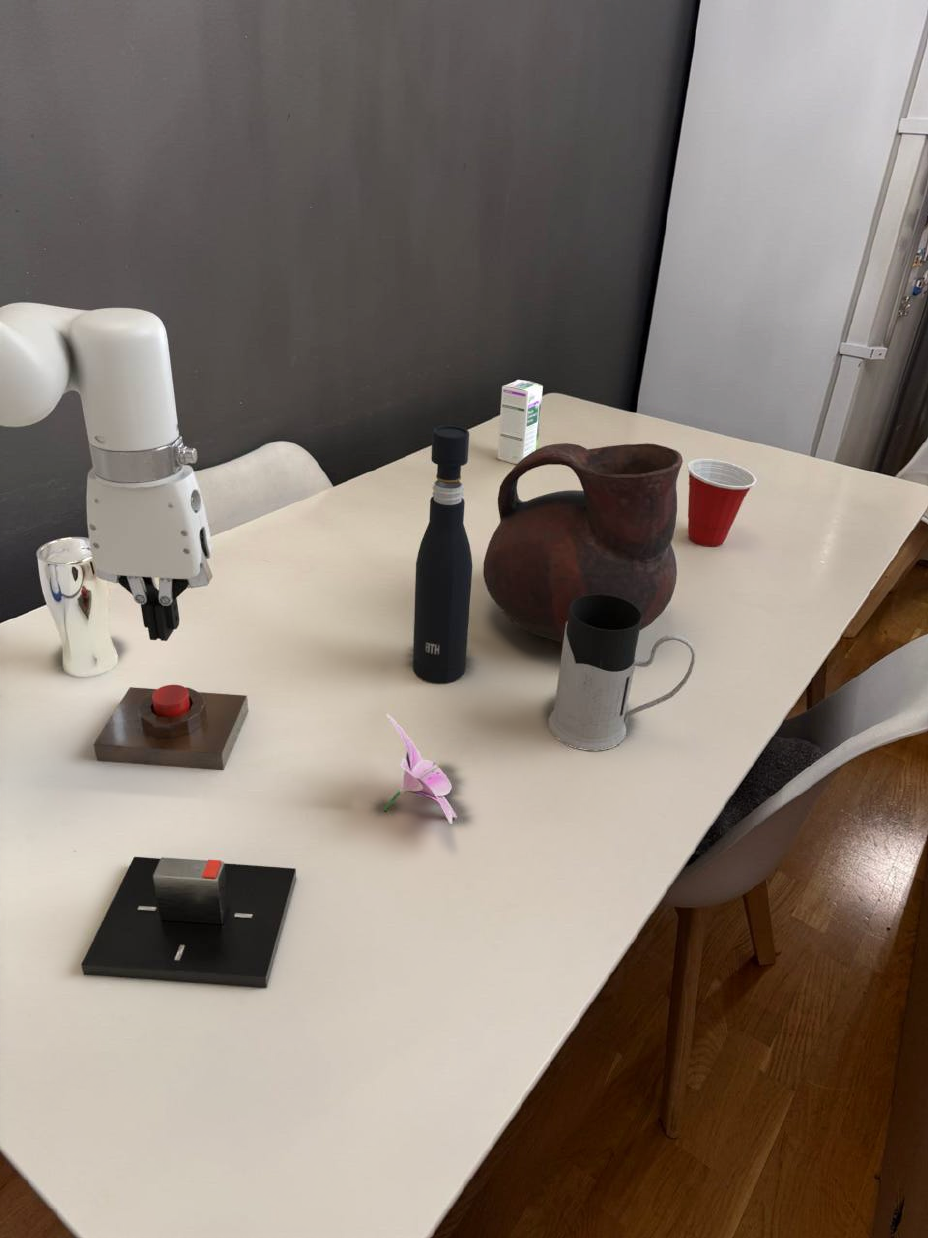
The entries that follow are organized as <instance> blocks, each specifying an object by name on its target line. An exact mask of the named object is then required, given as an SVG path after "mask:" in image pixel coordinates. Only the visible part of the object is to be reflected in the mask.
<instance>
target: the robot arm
mask: <svg viewBox="0 0 928 1238" xmlns="http://www.w3.org/2000/svg"><path fill="white" fill-rule="evenodd" d="M169 348H170V347H169V339H168V334H167V330H166V327H165V325H164V323H163V321H162V319H160V317H159V316H157V315H156V314H155V313H152V312H151V311H147V310H145V309H140V308H133V307H132V308H131V307H106V308H97V309H93V310H87V309H79V308H78V309H77V308H70V307H62V306H57V305H52V304H51V305H50V304H44V303H36V302H12V303H9V304H6V305H3V306H1V307H0V426H2V427H5V428H6V427H7V428H21V427H27V426H30V425H34V424H36V423H38V422H40V421H42V420H44V419H45V418H46V417H49V415H50V414H51V413H52V412H53V411H54V409H56V406H58V403H59V402H60V400H61V399H62V397H63V395H64V394H66V393H68V392H70V391H75V392H77V393H78V394H79V396H80V401H81V406H82V412H83V418H84V423H85V429H86V434H87V439H88V446H89V453H90V460H91V464H92V467H91V469H89V471H88V472H87V480H86V524H87V533H88V538H89V542H90V549H91V554H92V558H93V561H94V564H95V566H96V568H97V576H98V577H99V578H100V579H102V580H106V581H109V583H113V584H119V585H120V586H121V587H123V589H125V590H126V591H127V592H128V593H130V594H131V595H132V598H133V600H134V602H135V603H136V604H138V605H140V611H141V615H142V623H143V626H144V628H147V631H148V638H149V640H150V641H157V640H160V641H162V642H168V640H169V639H170V637H171V636H172V634H173V632H174V630H177V629H178V627H179V625H180V612H179V605H178V597H180V595H181V594H182V593H183V592H185V590H187V589H195V588H202V587H207V586H208V585H209V584H210V582H211V581H212V579H213V573H212V570H211V568H210V565H209V562H208V559H210V558H211V556H212V552H213V551H212V549H213V548H212V547H213V546H212V539H211V532H210V527H209V522H208V517H207V512H206V509H205V504H204V500H203V496H202V492H201V488H200V486H199V485H200V484H199V483H198V479H197V477H196V474H195V471H194V468H193V467H192V466H191V465H188V464H196V463H197V461H198V451H197V448H195V447H189V446H187V445H184V442H183V436H182V435H180V432H179V423H178V416H177V405H176V397H175V390H174V381H173V371H172V363H171V355H170V349H169ZM155 578H156V579H158V588H157V583H156V580H155Z"/></svg>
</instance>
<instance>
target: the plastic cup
mask: <svg viewBox="0 0 928 1238" xmlns="http://www.w3.org/2000/svg"><path fill="white" fill-rule="evenodd" d="M687 471H688V505H687V507H688V508H687V519H688V521H687V523H688V524H687V535H688V539H689V540H690V541H691V542H693V543H695V544H697V545H699V546H704V547H720V546H722V545H723V544H724V542H725V540H726V539H727V537H728V535H729V532H730V530H731V527H732V526H733V524H734V522H735V519H736V517H737V516H738V514H739V510H740V508H741V507H742V504H743V502H744V500H745V497H746V496H747V494H748V492H749V491H750V490H751V489H752V488H753V487H754V486H755V485H756V484H757V481H758V480H757V478H756V476H755V475H754V474H753V473H752V472H751V471H749V469H746V468H744V467H742V466H740V465H737V464H734V463H732V462H729V461H725V460H718V459H712V458H698V459H693V460H690V462H689V463H687Z"/></svg>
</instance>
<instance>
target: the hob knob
mask: <svg viewBox="0 0 928 1238" xmlns="http://www.w3.org/2000/svg"><path fill="white" fill-rule="evenodd" d="M159 859H160V862H159V864H158V866H157V868H156V871H155V873H154V875H153V879H154V885H155V891H156V896H157V902H158V908H159V913H160V919H161V920H165V921H180V922H196V923H211V924H223V922H224V919H225V916H226V913H227V910H228V907H229V900H228V891H227V883H226V874H225V866H224V863H225V861H223V860H220V859H207V860H206V859H205V860H204V859H189V858H177V857H176V858H175V857H161V858H159Z"/></svg>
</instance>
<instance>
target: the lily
mask: <svg viewBox="0 0 928 1238" xmlns="http://www.w3.org/2000/svg"><path fill="white" fill-rule="evenodd" d="M385 714H386V716H387V718H388V720H389V721H390V722H391V724H392V725H393V727H394V728H395V730H396V731H397V733H398V734H399V735H398V736H400V738H401V740H402V742H403V744H404V747H405V749H406V756H404V757H403V758H402V759H401V762H400V767H401V768H402V769H403V771H404V772H403V780H402V785H401V788H400V789H399V790H398V791H397V792H396V794H394V795H393V796H392V797H391V799H390V800H389V802H388V803H387V804H386V806H385V807H384V809H383V811H382V813H387V812H388V810H389V809H390V807H391V806H392V804H393V803H394V801H395V800H396V799H397V798H398V797H399V796H400V795H401V794H403V793H404V792H410V793H413V794H416V795H419V796H423V797H426V798H428V799H431V800H433V801H435V802H436V803H438V804H439V805H440V807H441V809H442V811H443V813H444V815H445V817H446V819H447V821H448V823H449V824H453V818H458V816H457V814H456V812H455V810H454V809H453V807H452V806H451V804H450V803H449V801H448V800H447V799H446V797H445V796H447V795H448V794H450V793H451V791H452V788H453V787H452V783H451V781H450V779H449V778H448V776H447V775H446V774H445V772H443V770H442V769H441V768H442V767H443V766H442V765H437V764H436V762H433V761H431V760H428V759H423V757H422V755H421V753H420V751H419V750H418V748H417V746H416V745H415V743H414V742H413V740H412V739H411V738H410V736H409V735H408V734H407V733H406V731H405V730H404V729H403V728H402V726H401V725H400V724H399V723H398V722H397V720H395V719H394V718H393V717H392V716H391V715H390V714H389V713H387V712H386V713H385Z"/></svg>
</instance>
